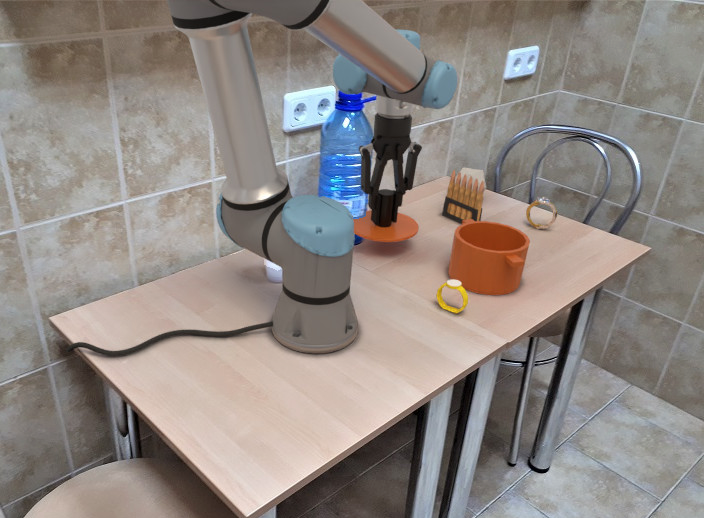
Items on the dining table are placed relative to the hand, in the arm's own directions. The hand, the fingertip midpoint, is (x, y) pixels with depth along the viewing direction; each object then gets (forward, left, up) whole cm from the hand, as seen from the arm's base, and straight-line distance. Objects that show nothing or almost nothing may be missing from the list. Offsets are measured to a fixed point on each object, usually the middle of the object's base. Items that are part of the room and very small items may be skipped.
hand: (383, 220), depth 135 cm
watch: (+3, -28, -7) cm, 29 cm away
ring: (+42, +1, -7) cm, 42 cm away
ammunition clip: (+25, +9, -7) cm, 27 cm away
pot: (+16, -18, -6) cm, 25 cm away
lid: (0, 0, -1) cm, 1 cm away
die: (+34, +22, -7) cm, 41 cm away
